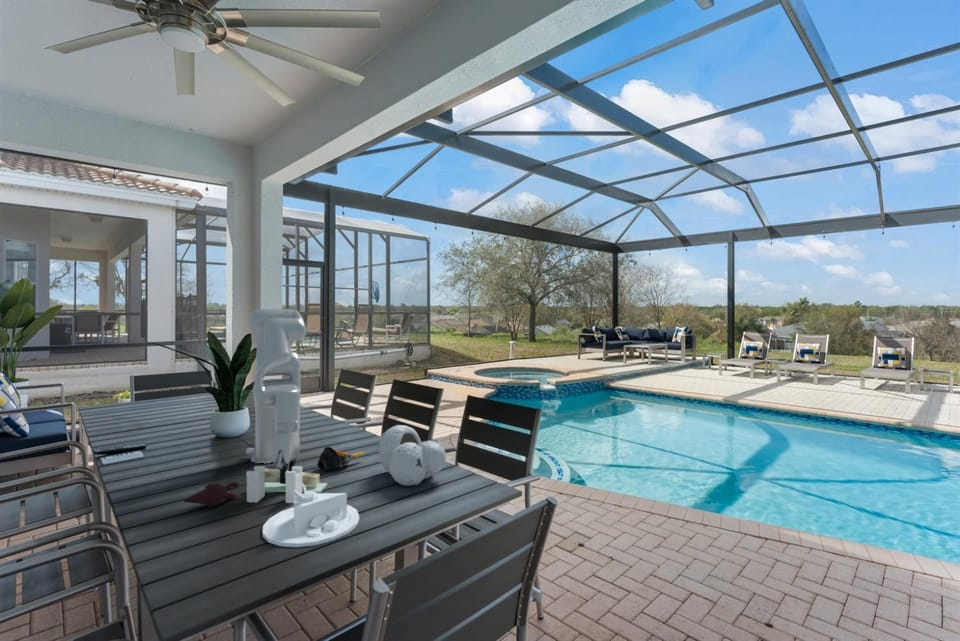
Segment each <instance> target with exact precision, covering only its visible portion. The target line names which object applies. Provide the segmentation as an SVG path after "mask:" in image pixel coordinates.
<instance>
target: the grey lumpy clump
mask: <svg viewBox="0 0 960 641" xmlns="http://www.w3.org/2000/svg"><path fill="white" fill-rule="evenodd" d="M378 446H379V447H378V456H379V462H380V464H381V466H382V467H383V468H384V470H385V471H386V472H388V473H389V474H390V475H391V477H392V478H393V479H394V481H395V482H396V483H398V484H400V485H401V486H407V487H408V486H409V487H410V486H417V485H419V484H420V483H422V481H423V480H425V479H428V478H430V476H431V475H434V474H437V473H439V472H441V470H443V468H444V467H445V465H446V460H447V455H446V449H445V448H444V447H443V446H442V445H441V444H439V443H438V442H437V441H433V440H430V439H428V441H423V442H422V440H421V438H420V436H419V434H418V432H417V431H416V429H414V428H413V427H411V426H408V425H404V424H403V425H402V424H396V425H393V426H392V427H390V428H388V429H387V430H386V431H385V432H384V433H383V434H382V436H381V437H380V441H379V443H378Z"/></svg>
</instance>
